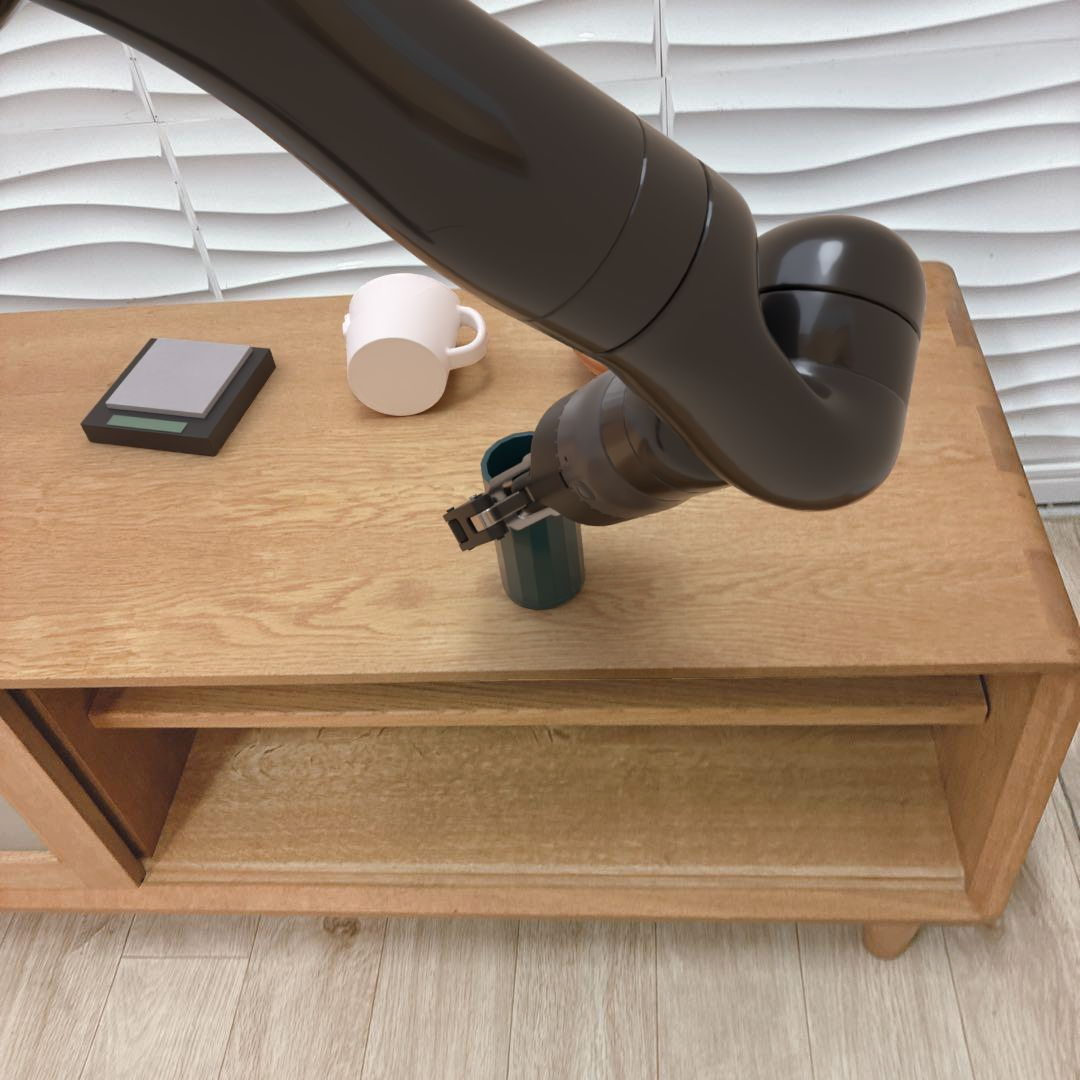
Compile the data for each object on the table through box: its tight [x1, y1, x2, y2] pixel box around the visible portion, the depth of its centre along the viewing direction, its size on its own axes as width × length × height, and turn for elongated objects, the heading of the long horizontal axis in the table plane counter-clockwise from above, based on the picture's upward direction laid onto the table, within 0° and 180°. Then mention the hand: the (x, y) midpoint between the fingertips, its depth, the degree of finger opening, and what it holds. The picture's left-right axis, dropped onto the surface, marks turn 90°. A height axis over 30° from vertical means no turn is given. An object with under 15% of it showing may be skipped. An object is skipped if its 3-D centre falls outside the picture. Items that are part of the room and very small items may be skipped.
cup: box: [480, 430, 586, 610], centre depth 71 cm, size 6×6×11 cm
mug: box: [342, 272, 489, 417], centre depth 89 cm, size 12×9×8 cm
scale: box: [80, 337, 277, 457], centre depth 92 cm, size 12×12×3 cm
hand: (523, 489), depth 70 cm, fingers open, 8 cm apart
